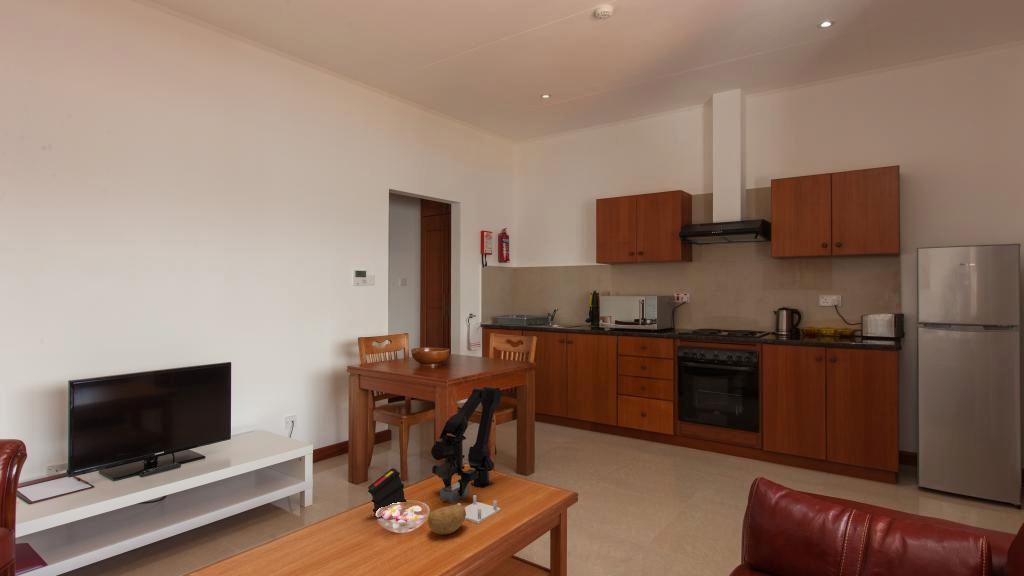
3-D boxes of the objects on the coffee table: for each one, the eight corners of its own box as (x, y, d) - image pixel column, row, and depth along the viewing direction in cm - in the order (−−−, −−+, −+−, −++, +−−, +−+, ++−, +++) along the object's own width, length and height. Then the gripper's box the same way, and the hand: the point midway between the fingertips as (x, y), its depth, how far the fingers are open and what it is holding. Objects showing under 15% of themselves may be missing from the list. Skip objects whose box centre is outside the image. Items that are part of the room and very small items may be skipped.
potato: (473, 529, 173) (473, 505, 173) (439, 544, 163) (439, 518, 163) (455, 520, 179) (455, 497, 180) (420, 534, 169) (421, 509, 170)
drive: (457, 491, 206) (457, 480, 206) (469, 495, 203) (469, 484, 203) (440, 500, 198) (440, 488, 198) (452, 503, 195) (452, 492, 195)
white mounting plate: (475, 503, 194) (475, 493, 194) (500, 510, 188) (500, 499, 188) (453, 515, 183) (453, 504, 183) (478, 523, 177) (478, 512, 177)
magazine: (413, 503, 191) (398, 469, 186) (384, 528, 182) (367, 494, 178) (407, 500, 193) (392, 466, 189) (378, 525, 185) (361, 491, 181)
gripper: (422, 454, 199) (421, 495, 199) (460, 463, 189) (460, 507, 189) (441, 447, 208) (441, 487, 208) (479, 455, 198) (479, 497, 198)
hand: (454, 494), depth 200 cm, fingers closed on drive, 6 cm apart
